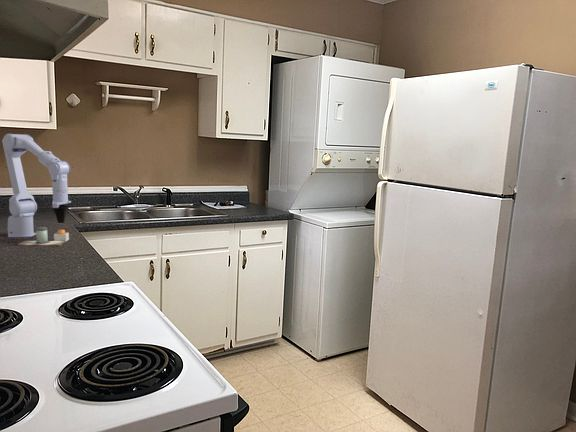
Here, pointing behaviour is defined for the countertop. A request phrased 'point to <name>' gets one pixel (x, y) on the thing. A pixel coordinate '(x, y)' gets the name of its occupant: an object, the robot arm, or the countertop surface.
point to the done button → (61, 231)
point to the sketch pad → (34, 243)
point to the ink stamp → (42, 235)
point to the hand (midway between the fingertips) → (61, 222)
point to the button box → (61, 237)
